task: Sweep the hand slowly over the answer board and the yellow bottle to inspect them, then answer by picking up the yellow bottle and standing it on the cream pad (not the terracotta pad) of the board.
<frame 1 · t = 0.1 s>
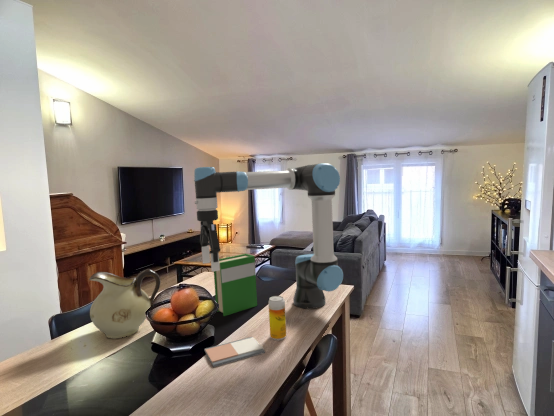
hand: (210, 266, 126), 28 cm above the table, fingers open, 13 cm apart
hardback book: (237, 309, 159), on the table
pitcher: (124, 331, 140), on the table
yellow bottle: (278, 337, 128), on the table
answer board: (234, 351, 119), on the table
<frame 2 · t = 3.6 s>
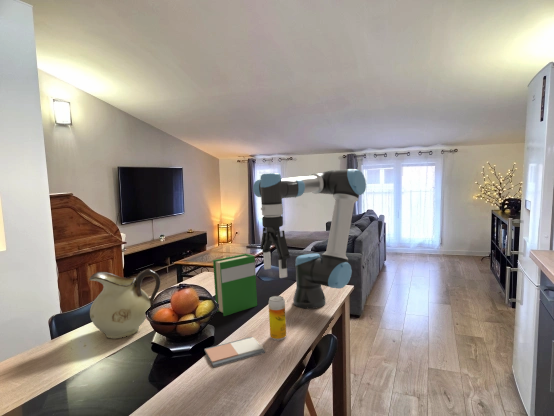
hand: (275, 272, 126), 25 cm above the table, fingers open, 13 cm apart
nothing on the table moved.
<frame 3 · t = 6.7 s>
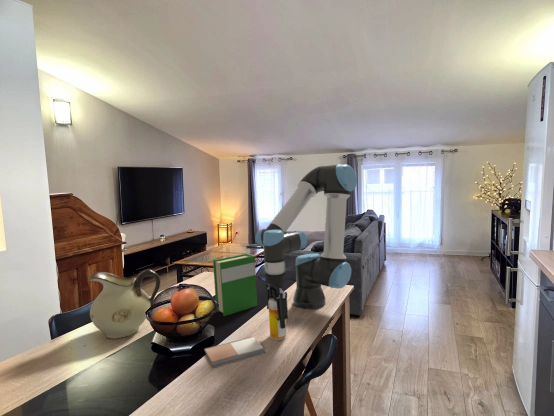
hand: (278, 332, 128), 2 cm above the table, fingers closed on yellow bottle, 6 cm apart
yellow bottle: (278, 337, 128), on the table, touching gripper
everything else where it was.
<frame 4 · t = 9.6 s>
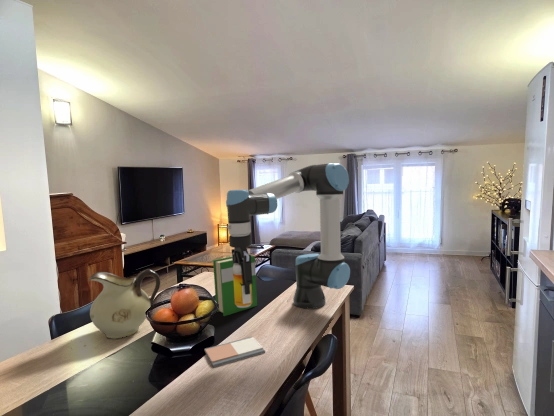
hand: (243, 299, 119), 18 cm above the table, fingers closed on yellow bottle, 6 cm apart
yellow bottle: (243, 305, 120), point 16 cm above the table, touching gripper
everything else where it was.
when the fingers open (5 cm above the table, at t = 12.5 s): yellow bottle drops 2 cm, resting on answer board.
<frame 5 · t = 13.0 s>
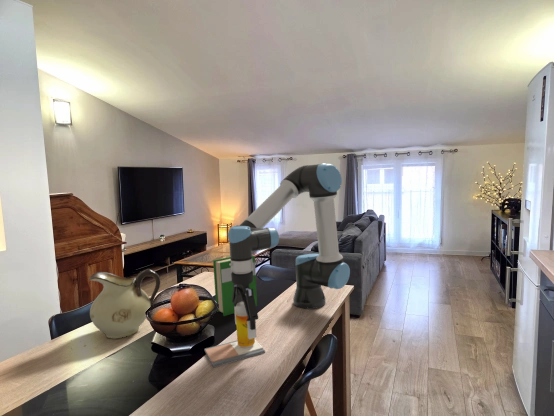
hand: (245, 330, 120), 7 cm above the table, fingers open, 13 cm apart
yellow bottle: (246, 345, 121), point 1 cm above the table, touching answer board
everything else where it was.
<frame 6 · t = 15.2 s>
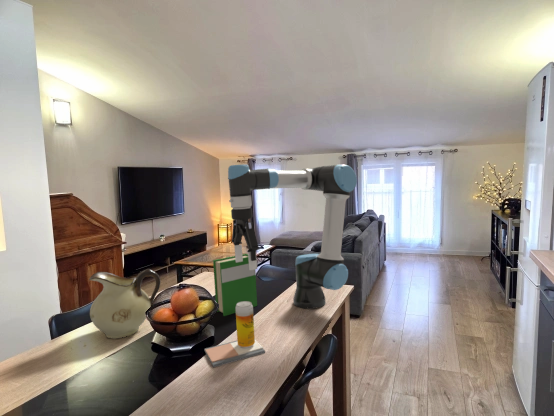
hand: (245, 265, 125), 28 cm above the table, fingers open, 13 cm apart
nothing on the table moved.
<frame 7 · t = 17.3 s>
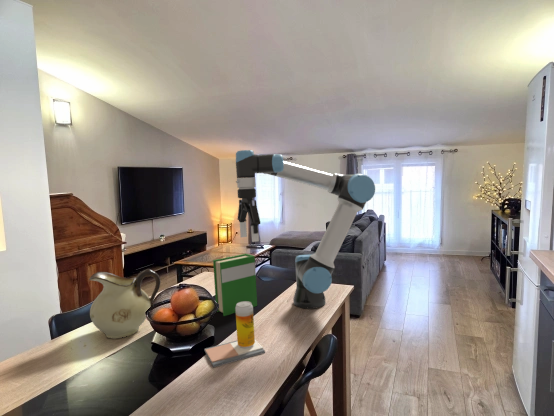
hand: (249, 239, 143), 35 cm above the table, fingers open, 13 cm apart
nothing on the table moved.
at the end: yellow bottle inside the target area (0.2 cm from its centre), point 1.0 cm above the table; yellow bottle tilted 0°; the gripper is holding nothing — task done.
